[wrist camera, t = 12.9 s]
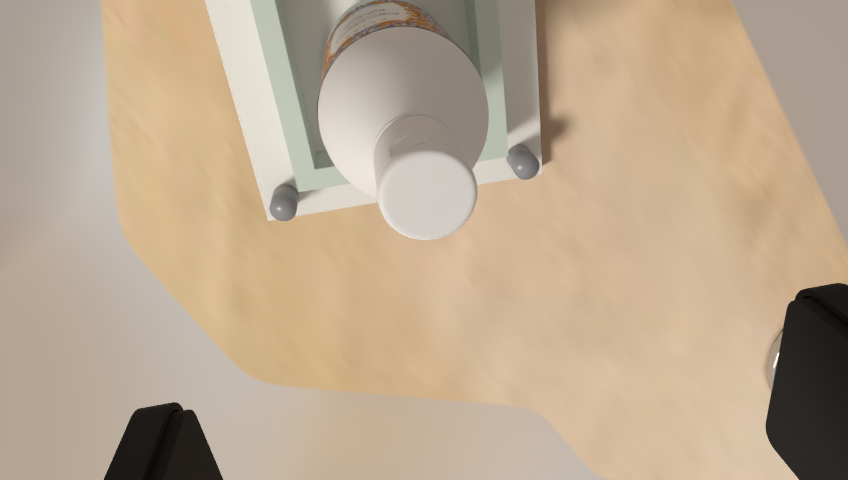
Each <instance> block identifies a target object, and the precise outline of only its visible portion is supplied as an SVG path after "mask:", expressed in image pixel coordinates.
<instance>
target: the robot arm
mask: <svg viewBox="0 0 848 480" xmlns="http://www.w3.org/2000/svg"><path fill="white" fill-rule="evenodd" d="M766 379H767V382H768V386H769V387H770V389H771V391H772V393H771V398H770V404H769V409H768V414H767V420H766V433H767V436H768V439H769V441H770V443H771V445H772V446H773V448H774V449H775V451H776V452H777V453H778V454H779V455H780V457H781V458H782V459H783V460H784V462H785V463H786V464H787V465H788V466H789V468H790V469H791V470H792V471H793V473H794V474H795V475H796V476H797V477H798V479H799V480H848V286H847V285H845V284H841V283H836V284H830V285H824V286H819V287H813V288H808V289H804V290H801V291H800V292H799V293H798V294H797V295H796V298H795V300H794V301H791V302H790V303H789V305H788V307H787V311H786V317H785V322H784V328H783V331H782V332H781V334H780V335H779V337H778V338H777V340H776V341H775V343H774V344H773V347H772V349H771V351H770V353H769V356H768V360H767V364H766ZM104 480H223V478H222V476H221V473H220V471H219V469H218V466H217V464H216V461H215V459H214V457H213V454H212V452H211V450H210V447H209V445H208V443H207V440H206V438H205V435H204V433H203V431H202V428H201V426H200V423H199V421H198V419H197V416H196V415H195V413H194V411H192V410H185V411H184V410H183V408H182V407H181V405H180V404H178V403H175V402H174V403H168V404H163V405H157V406H151V407H146V408H141V409H137V410H136V411H135V412H134V413H133V415H132V417H131V419H130V421H129V423H128V425H127V428H126V430H125V432H124V435H123V437H122V439H121V441H120V444H119V446H118V448H117V450H116V453H115V455H114V457H113V460H112V462H111V464H110V467H109V469H108V471H107V473H106V476H105V478H104Z"/></svg>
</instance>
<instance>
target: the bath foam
mask: <svg viewBox="0 0 848 480" xmlns="http://www.w3.org/2000/svg"><path fill="white" fill-rule="evenodd" d="M317 118H318V125H319V129H320V134H321V137H322V140H323V143H324V146H325V148H326V150H327V152H328V154H329V156H330V158H331V160H332V162H333V163H334V165H335V166H336V168H337V169H338V171H339V172H340V173H341V174H342V175H343V176H344V177H345V178H346V179H347V180H348V181H349V182H350V183H351V184H352V185H353V186H355V187H356V188H357V189H359V190H361V191H362V192H364V193H366V194H368V195H369V196H372V197H374V198H376V199H378V203H379V207H380V210H381V212H382V214H383V216H384V218H385V220H386V221H387V222H388V223H389V225H390V226H391V227H392V228H394V229H395V230H396V231H398V232H399V233H401V234H403V235H405V236H407V237H410V238H413V239H418V240H433V239H438V238H442V237H444V236H447V235H449V234H451V233H453V232H454V231H456V230H457V229H459V228H460V227H461V226H462V225H463V224H464V223H465V222H466V221H467V219H468V218H469V217H470V215H471V213H472V211H473V209H474V206H475V203H476V199H477V183H476V178H475V175H474V173H473V170H472V169H473V167H474V166H475V164H476V163H477V161H478V159H479V157H480V155H481V153H482V150H483V148H484V145H485V141H486V137H487V132H488V124H489V109H488V101H487V96H486V92H485V88H484V85H483V82H482V79H481V77H480V74H479V72H478V70H477V68H476V67H475V65H474V63H473V62H472V60H471V59H470V58H469V56H468V55H467V54H466V53H465V52H464V51H463V50H462V49H461V48H460V46H459V45H458V44H457V43H456V42H455V41H454V40H453V39H452V38H451V37H450V36H449V35H448V34H447V33H446V31H445V30H444V29H443V28H442V27H441V26H440V25H439V24H438V23H437V22H436V21H435V20H434V19H433V18H432V17H431V16H430V15H429V14H428V13H427V12H426V11H425V10H424V9H422V8H421V7H420V6H418V5H416V4H415V3H413V2H411V1H409V0H362V1H360V2H358V3H356V4H355V5H353V6H352V7H350V8H349V9H348V10H346V11H345V12H344V13H343V14H342V15H341V16H340V18H339V19H338V20H337V22H336V23H335V25H334V26H333V28H332V30H331V32H330V35H329V37H328V40H327V44H326V49H325V54H324V61H323V68H322V75H321V82H320V89H319V95H318V103H317Z"/></svg>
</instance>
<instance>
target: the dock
mask: <svg viewBox="0 0 848 480" xmlns="http://www.w3.org/2000/svg"><path fill="white" fill-rule="evenodd" d="M360 1H362V0H205V3H206V6H207V10H208V13H209V17H210V20H211V24H212V27H213V31H214V34H215V38H216V41H217V44H218V48H219V51H220V55H221V58H222V62H223V65H224V69H225V72H226V76H227V79H228V83H229V86H230V90H231V93H232V97H233V100H234V104H235V107H236V111H237V114H238V117H239V121H240V124H241V128H242V131H243V135H244V138H245V142H246V145H247V149H248V152H249V156H250V159H251V163H252V166H253V170H254V173H255V177H256V180H257V184H258V187H259V191H260V194H261V197H262V201H263V204H264V208H265V211H266V215H267V218H268V221H271V220H280V221H288V220H290V219H292V218H293V217H294V216H300V215H306V214H312V213H318V212H324V211H329V210H335V209H341V208H347V207H353V206H359V205H364V204H370V203H376V202H378V199H376V198H374V197H372V196H369V195H368V194H366V193H364V192H362V191H361V190H359V189H357V188H356V187H355V186H353V185H352V184H351V183H350V182H349V181H348V180H347V179H346V178H345V177H344V176H343V175H342V174H341V173H340V172H339V171H338V169H337V168H336V166H335V165H334V163H333V162H332V160H331V158H330V156H329V154H328V152H327V150H326V148H325V146H324V143H323V140H322V137H321V134H320V129H319V125H318V118H317V103H318V95H319V89H320V82H321V75H322V68H323V61H324V54H325V49H326V44H327V40H328V37H329V35H330V32H331V30H332V28H333V26H334V25H335V23H336V22H337V20H338V19H339V18H340V16H341V15H342V14H343V13H344V12H345V11H346V10H348V9H349V8H350V7H352V6H353V5H355V4H356V3H358V2H360ZM409 1H411V2H413V3H415V4H416V5H418V6H420V7H421V8H422V9H424V10H425V11H426V12H427V13H428V14H429V15H430V16H431V17H432V18H433V19H434V20H435V21H436V22H437V23H438V24H439V25H440V26H441V27H442V28H443V29H444V30H445V31H446V33H447V34H448V35H449V36H450V37H451V38H452V39H453V40H454V41H455V42H456V43H457V44H458V45H459V46H460V48H461V49H462V50H463V51H464V52H465V53H466V54H467V55H468V56H469V58H470V59H471V60H472V62H473V63H474V65H475V67H476V68H477V70H478V72H479V74H480V77H481V79H482V82H483V85H484V88H485V92H486V96H487V101H488V109H489V124H488V132H487V137H486V141H485V145H484V148H483V150H482V153H481V155H480V157H479V159H478V161H477V163H476V164H475V166H474V167H473V169H472V170H473V173H474V175H475V178H476V183H477V185H481V184H487V183H493V182H498V181H504V180H510V179H516V178H520V179H524V180H527V179H531V178H533V177H534V176H535V175H539V174H542V156H541V132H540V108H539V85H538V61H537V37H536V14H535V0H409Z"/></svg>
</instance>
